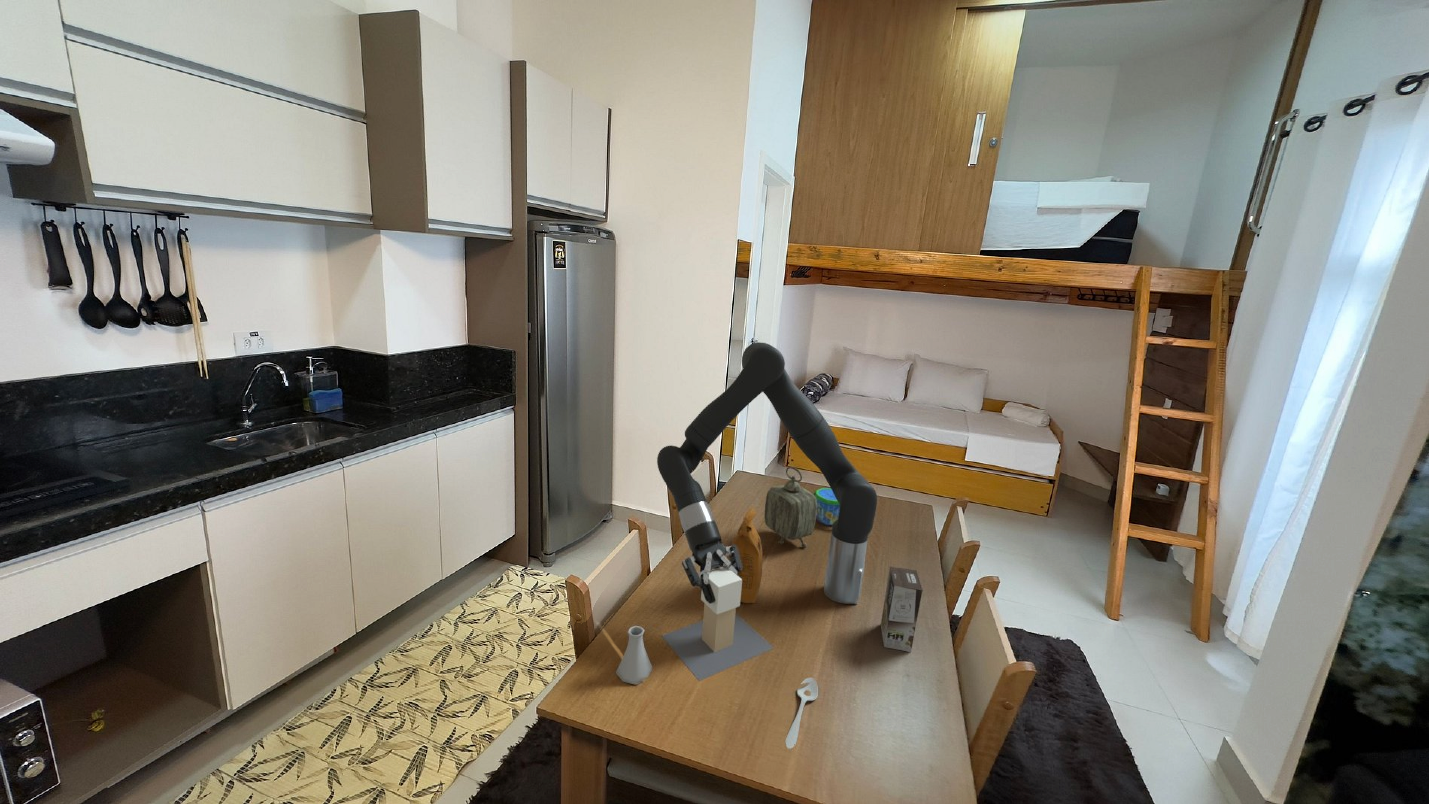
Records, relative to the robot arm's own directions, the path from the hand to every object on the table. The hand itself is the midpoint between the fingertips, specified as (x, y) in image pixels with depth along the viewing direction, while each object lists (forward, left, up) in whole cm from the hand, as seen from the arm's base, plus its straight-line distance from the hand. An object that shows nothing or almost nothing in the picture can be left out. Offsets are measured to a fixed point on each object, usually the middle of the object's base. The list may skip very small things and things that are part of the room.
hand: (725, 597), depth 121 cm
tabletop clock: (0, -55, -13) cm, 56 cm away
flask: (+13, +15, -13) cm, 24 cm away
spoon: (-21, +11, -14) cm, 27 cm away
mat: (+1, -1, -13) cm, 13 cm away
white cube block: (+1, -1, -2) cm, 3 cm away
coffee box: (-36, -23, -13) cm, 44 cm away
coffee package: (+3, -23, -13) cm, 27 cm away
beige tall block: (+1, -1, -12) cm, 12 cm away
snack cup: (-9, -77, -13) cm, 78 cm away
